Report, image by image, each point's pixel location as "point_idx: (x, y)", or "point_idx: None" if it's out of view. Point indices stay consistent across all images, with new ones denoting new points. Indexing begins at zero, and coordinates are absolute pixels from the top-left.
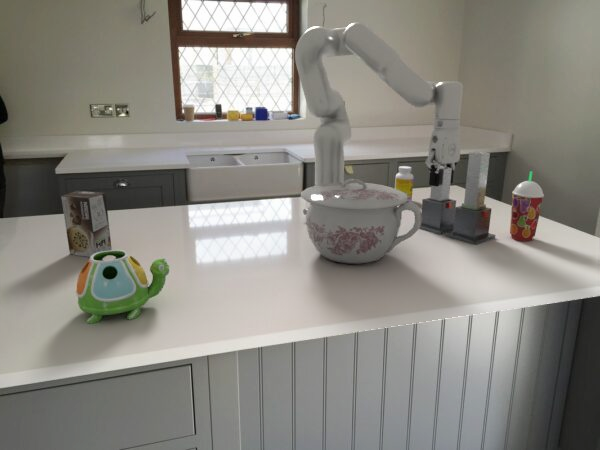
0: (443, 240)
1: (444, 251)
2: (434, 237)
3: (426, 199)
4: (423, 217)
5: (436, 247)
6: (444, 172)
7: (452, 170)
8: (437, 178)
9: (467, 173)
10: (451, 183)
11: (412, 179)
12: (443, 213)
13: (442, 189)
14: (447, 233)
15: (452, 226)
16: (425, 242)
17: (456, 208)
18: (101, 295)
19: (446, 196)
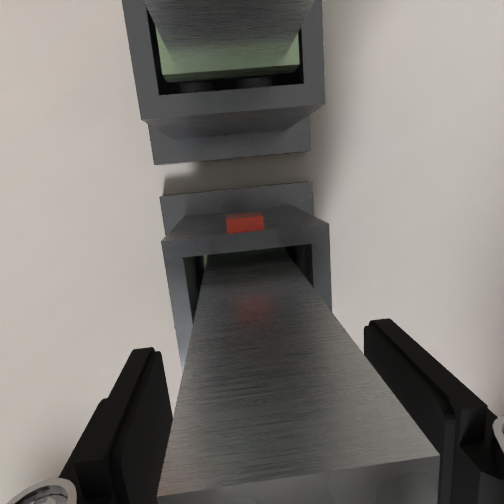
0: (362, 115)
1: (479, 4)
2: (360, 166)
3: None
4: None
5: (461, 64)
6: (373, 409)
7: (58, 500)
8: (434, 371)
9: None
10: (144, 350)
11: None
12: (287, 216)
13: (312, 295)
14: (309, 143)
15: (205, 205)
16: (442, 139)
17: (322, 97)
18: None
19: (235, 280)
